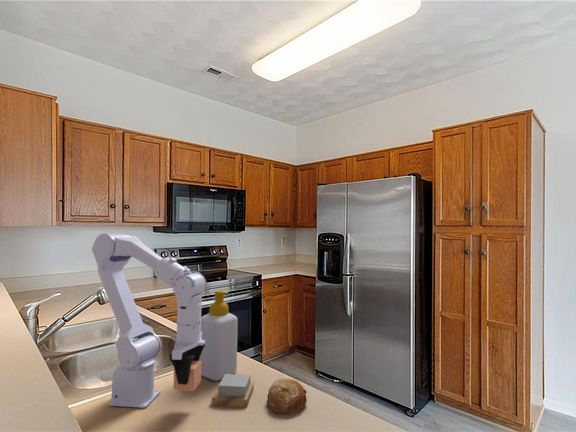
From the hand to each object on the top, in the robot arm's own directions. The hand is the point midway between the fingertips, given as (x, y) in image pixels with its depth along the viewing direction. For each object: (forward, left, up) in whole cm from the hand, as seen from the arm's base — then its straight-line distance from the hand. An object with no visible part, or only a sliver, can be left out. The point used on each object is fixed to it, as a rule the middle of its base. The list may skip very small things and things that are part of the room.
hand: (187, 378), depth 81 cm
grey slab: (+10, +7, -6) cm, 14 cm away
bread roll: (+24, +5, -8) cm, 26 cm away
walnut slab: (+10, +7, -8) cm, 15 cm away
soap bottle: (+2, +20, -8) cm, 22 cm away
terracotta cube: (0, 0, -2) cm, 2 cm away
